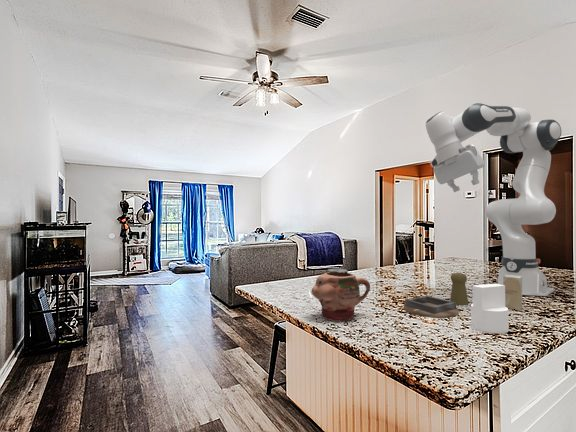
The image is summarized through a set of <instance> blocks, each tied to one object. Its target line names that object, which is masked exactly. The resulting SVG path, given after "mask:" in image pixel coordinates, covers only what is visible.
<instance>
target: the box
mask: <svg viewBox="0 0 576 432" xmlns="http://www.w3.org/2000/svg"><path fill="white" fill-rule="evenodd" d="M522 278H523V277H522V276H515V275H504V276H503V285H505V307H507V308H509V309H508V310H514V309H515V310H516V311H521V310H522V308H523V295H522Z"/></svg>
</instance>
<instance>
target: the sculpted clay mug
mask: <svg viewBox="0 0 576 432" xmlns="http://www.w3.org/2000/svg"><path fill="white" fill-rule="evenodd" d="M360 285H363V286H364V287H365V291H364V293H363V295H361V296H360V294H361V291H360ZM370 290H371V284H370V282H369V281H368V280H367V279H366V278H364V277H363V278H362V277H356V275H355V274H353V273H350V272H347V273H345V272H336V271H332V272H328V271H327V272H325V273H323V274H320V275H319V276H318V277H317V278H316V280H315V284H314V285H313V286H312V288H311V295H312V296H313V297H314V298H316V299H317V300H318V301H319V303H320V305H321V316H322V317H323V318H325V319H326V320H329V321H332V322H347V321H351V320H352V319H354V318H353V317H354V316H355V308H356V306H357V305H358V304H360V303H362V302H363V301H364V300H365V299H366V298H367V296H368V295H369V293H370Z"/></svg>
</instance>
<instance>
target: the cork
mask: <svg viewBox="0 0 576 432" xmlns="http://www.w3.org/2000/svg"><path fill="white" fill-rule="evenodd" d="M450 280H451V282H452V284H451V291H450V299H449V301H452V302H456V306H459V305H467V306H469V305H468V304H469V298H468V292H467V291H468V290H467V285H466V283H467V280H468V276H467V274H465V273H462V272H461V273H460V272H454V273H451V275H450Z"/></svg>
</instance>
